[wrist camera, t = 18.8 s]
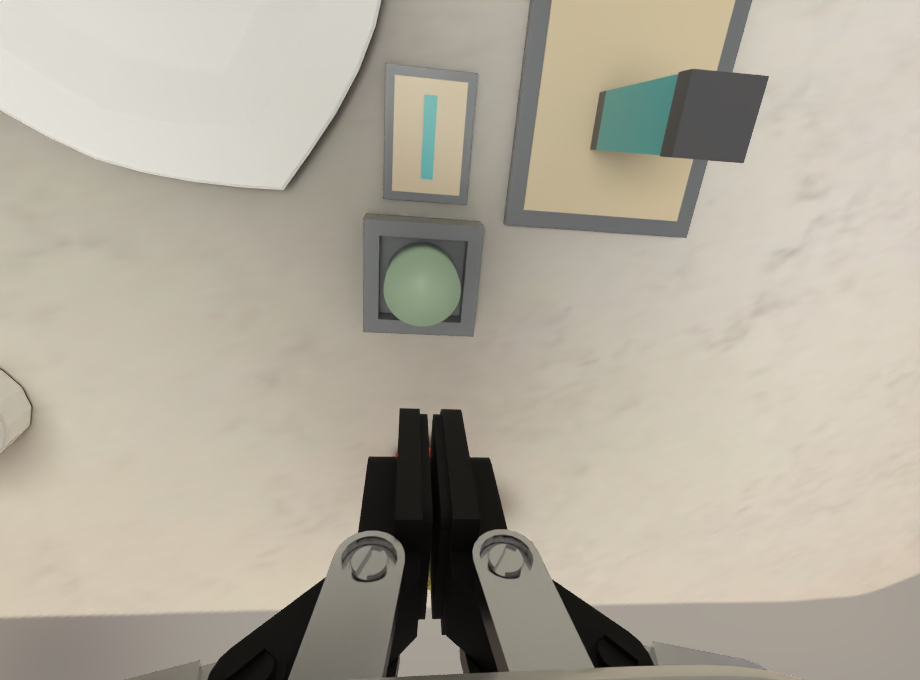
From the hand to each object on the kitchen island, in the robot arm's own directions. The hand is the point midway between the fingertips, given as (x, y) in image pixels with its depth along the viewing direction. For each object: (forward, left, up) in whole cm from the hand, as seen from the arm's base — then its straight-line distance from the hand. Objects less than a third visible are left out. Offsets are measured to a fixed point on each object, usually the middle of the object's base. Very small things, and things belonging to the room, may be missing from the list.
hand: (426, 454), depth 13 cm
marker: (-10, +11, -18) cm, 23 cm away
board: (-12, +11, -19) cm, 25 cm away
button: (0, 0, -18) cm, 18 cm away
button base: (0, 0, -19) cm, 19 cm away
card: (-8, 0, -19) cm, 21 cm away
